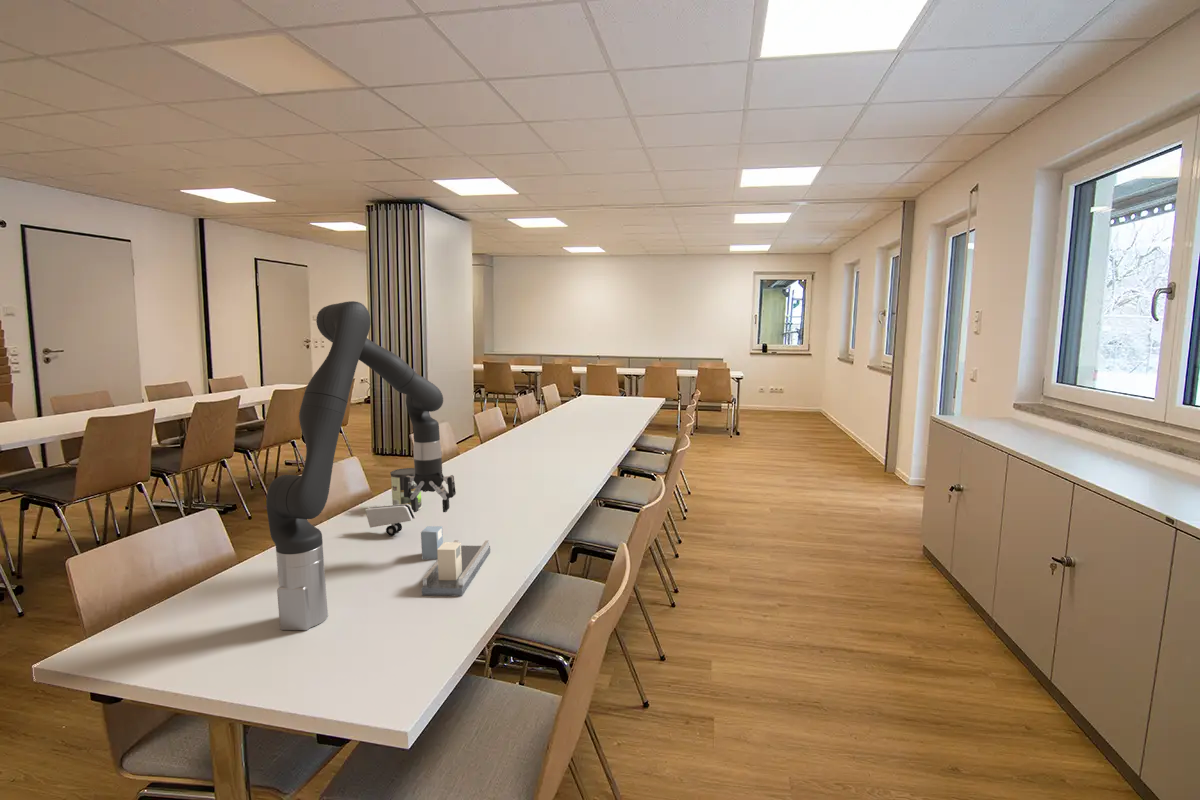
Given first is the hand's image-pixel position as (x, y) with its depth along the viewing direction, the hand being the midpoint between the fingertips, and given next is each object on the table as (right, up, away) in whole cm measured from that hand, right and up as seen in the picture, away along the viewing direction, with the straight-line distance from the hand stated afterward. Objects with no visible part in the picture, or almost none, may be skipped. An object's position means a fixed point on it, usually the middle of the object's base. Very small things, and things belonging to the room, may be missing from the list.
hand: (430, 511), depth 166 cm
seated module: (+10, -13, -17) cm, 24 cm away
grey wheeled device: (-25, -8, +21) cm, 34 cm away
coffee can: (-22, -8, +47) cm, 52 cm away
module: (0, -13, +1) cm, 13 cm away
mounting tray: (+11, -14, -10) cm, 20 cm away
